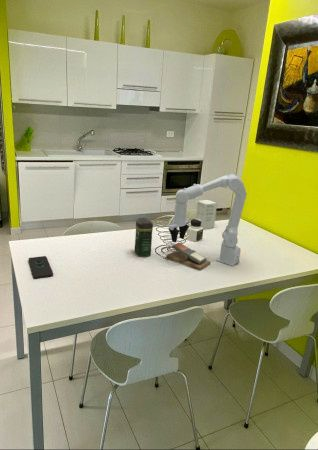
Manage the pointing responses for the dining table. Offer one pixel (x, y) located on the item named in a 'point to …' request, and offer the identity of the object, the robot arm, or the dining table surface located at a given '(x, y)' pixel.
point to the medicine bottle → (195, 230)
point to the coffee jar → (143, 237)
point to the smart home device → (40, 267)
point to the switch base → (187, 260)
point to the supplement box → (206, 213)
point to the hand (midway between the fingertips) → (177, 240)
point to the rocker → (189, 253)
